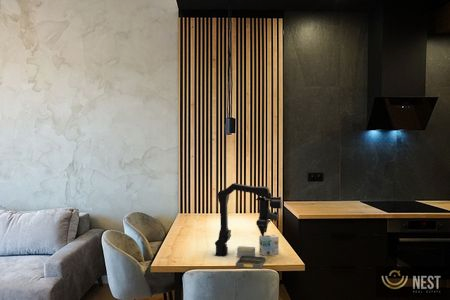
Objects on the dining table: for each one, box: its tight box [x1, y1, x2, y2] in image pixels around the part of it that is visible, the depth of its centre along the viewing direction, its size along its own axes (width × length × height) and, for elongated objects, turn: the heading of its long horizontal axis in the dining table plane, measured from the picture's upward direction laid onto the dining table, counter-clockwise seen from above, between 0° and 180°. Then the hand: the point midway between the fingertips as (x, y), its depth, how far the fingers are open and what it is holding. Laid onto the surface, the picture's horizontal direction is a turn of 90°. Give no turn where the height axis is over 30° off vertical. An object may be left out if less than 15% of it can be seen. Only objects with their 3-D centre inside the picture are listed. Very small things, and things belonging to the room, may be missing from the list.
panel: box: [236, 245, 256, 259], centre depth 218 cm, size 10×4×6 cm, turn 75°
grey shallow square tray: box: [235, 255, 266, 269], centre depth 206 cm, size 14×15×2 cm
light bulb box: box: [258, 234, 280, 256], centre depth 226 cm, size 11×7×11 cm, turn 103°
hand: (264, 234), depth 217 cm, fingers open, 9 cm apart
